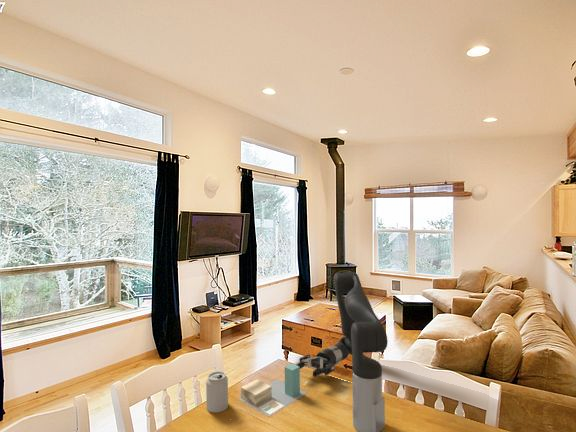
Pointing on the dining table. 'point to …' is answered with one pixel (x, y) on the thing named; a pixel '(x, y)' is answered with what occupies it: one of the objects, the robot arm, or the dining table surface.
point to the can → (217, 392)
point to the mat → (275, 399)
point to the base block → (256, 392)
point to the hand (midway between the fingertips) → (305, 370)
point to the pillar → (292, 380)
